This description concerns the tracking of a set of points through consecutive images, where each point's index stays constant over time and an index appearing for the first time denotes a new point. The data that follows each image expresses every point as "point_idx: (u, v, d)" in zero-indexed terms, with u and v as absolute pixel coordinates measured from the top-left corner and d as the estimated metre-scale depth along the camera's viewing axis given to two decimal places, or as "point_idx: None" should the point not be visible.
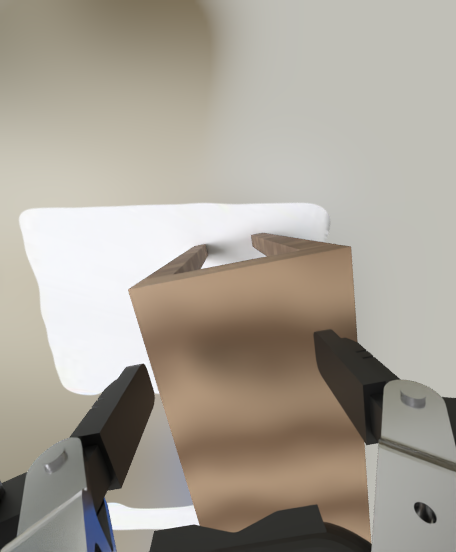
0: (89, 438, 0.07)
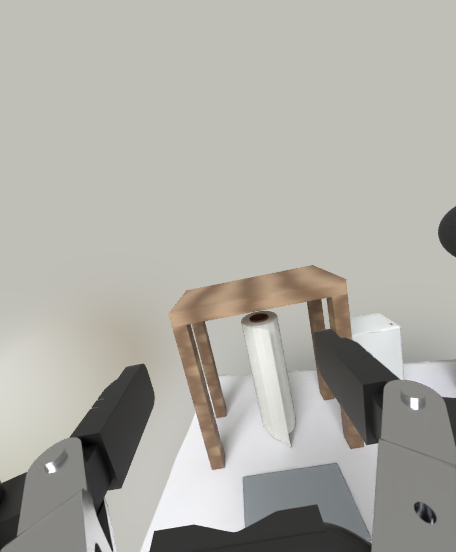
0: (89, 438, 0.07)
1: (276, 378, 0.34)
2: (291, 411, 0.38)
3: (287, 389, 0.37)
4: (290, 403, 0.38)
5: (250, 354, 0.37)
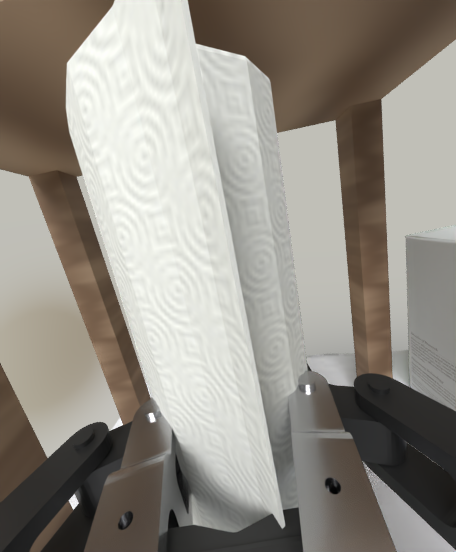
0: None
1: (266, 486, 0.04)
2: None
3: None
4: None
5: (126, 313, 0.07)
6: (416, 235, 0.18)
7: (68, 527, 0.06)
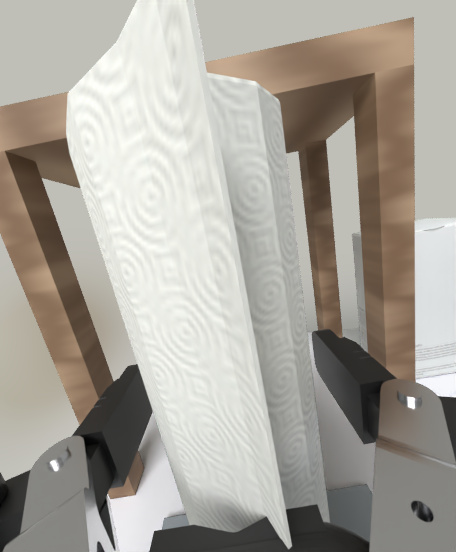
0: (92, 436, 0.07)
1: None
2: None
3: (322, 506, 0.08)
4: None
5: (130, 339, 0.07)
6: (358, 233, 0.24)
7: None
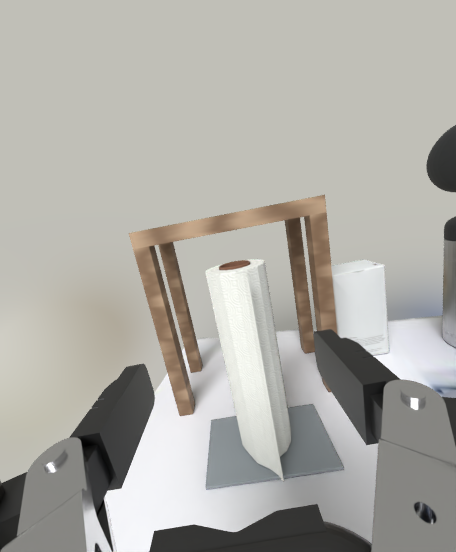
0: (89, 438, 0.07)
1: (261, 364, 0.19)
2: (285, 420, 0.24)
3: (279, 384, 0.23)
4: (284, 407, 0.24)
5: (219, 326, 0.22)
6: None
7: None
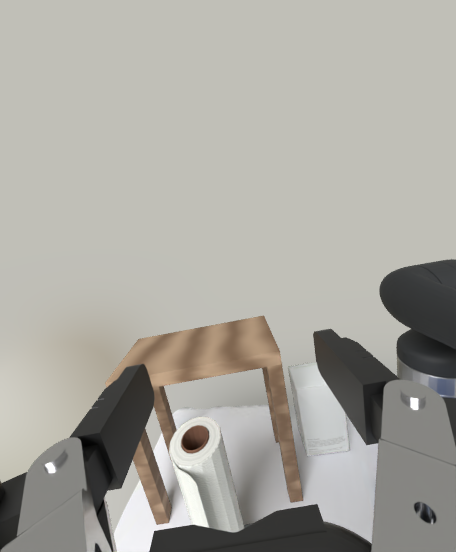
0: (89, 438, 0.07)
1: None
2: None
3: None
4: None
5: (182, 492, 0.25)
6: (290, 369, 0.43)
7: None
